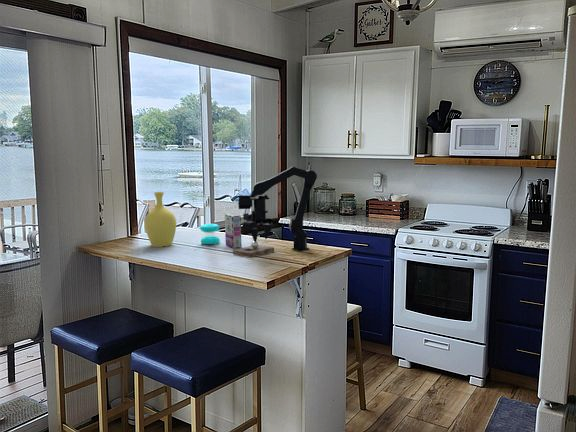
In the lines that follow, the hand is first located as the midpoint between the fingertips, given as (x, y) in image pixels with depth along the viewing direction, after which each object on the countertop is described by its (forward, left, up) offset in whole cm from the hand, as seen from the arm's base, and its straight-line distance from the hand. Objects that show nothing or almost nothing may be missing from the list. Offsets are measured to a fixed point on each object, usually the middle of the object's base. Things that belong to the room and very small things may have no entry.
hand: (260, 240), depth 243 cm
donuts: (+2, -35, -6) cm, 36 cm away
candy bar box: (0, -19, -6) cm, 20 cm away
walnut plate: (+5, 0, -5) cm, 8 cm away
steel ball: (+4, 0, -2) cm, 5 cm away
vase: (+20, -53, -6) cm, 57 cm away
